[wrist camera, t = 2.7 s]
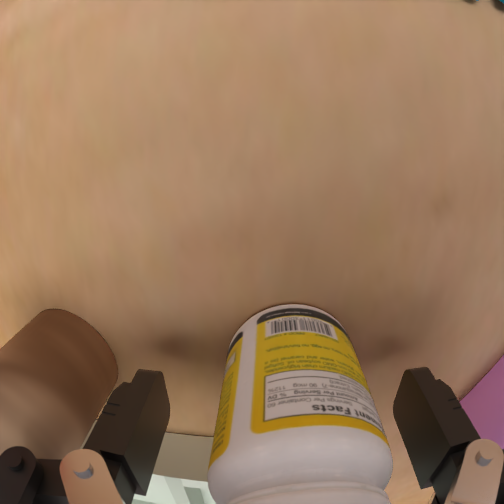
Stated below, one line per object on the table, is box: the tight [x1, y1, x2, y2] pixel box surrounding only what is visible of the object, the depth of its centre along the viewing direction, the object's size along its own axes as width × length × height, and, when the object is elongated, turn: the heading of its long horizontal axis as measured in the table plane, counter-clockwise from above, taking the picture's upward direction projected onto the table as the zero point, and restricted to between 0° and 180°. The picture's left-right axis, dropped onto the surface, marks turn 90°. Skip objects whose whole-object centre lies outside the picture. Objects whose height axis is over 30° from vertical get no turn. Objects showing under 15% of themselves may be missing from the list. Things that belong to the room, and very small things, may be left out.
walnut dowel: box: [0, 309, 118, 460], centre depth 9 cm, size 5×5×8 cm
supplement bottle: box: [207, 304, 393, 504], centre depth 8 cm, size 5×5×8 cm
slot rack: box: [80, 420, 216, 504], centre depth 14 cm, size 18×9×3 cm, turn 91°
